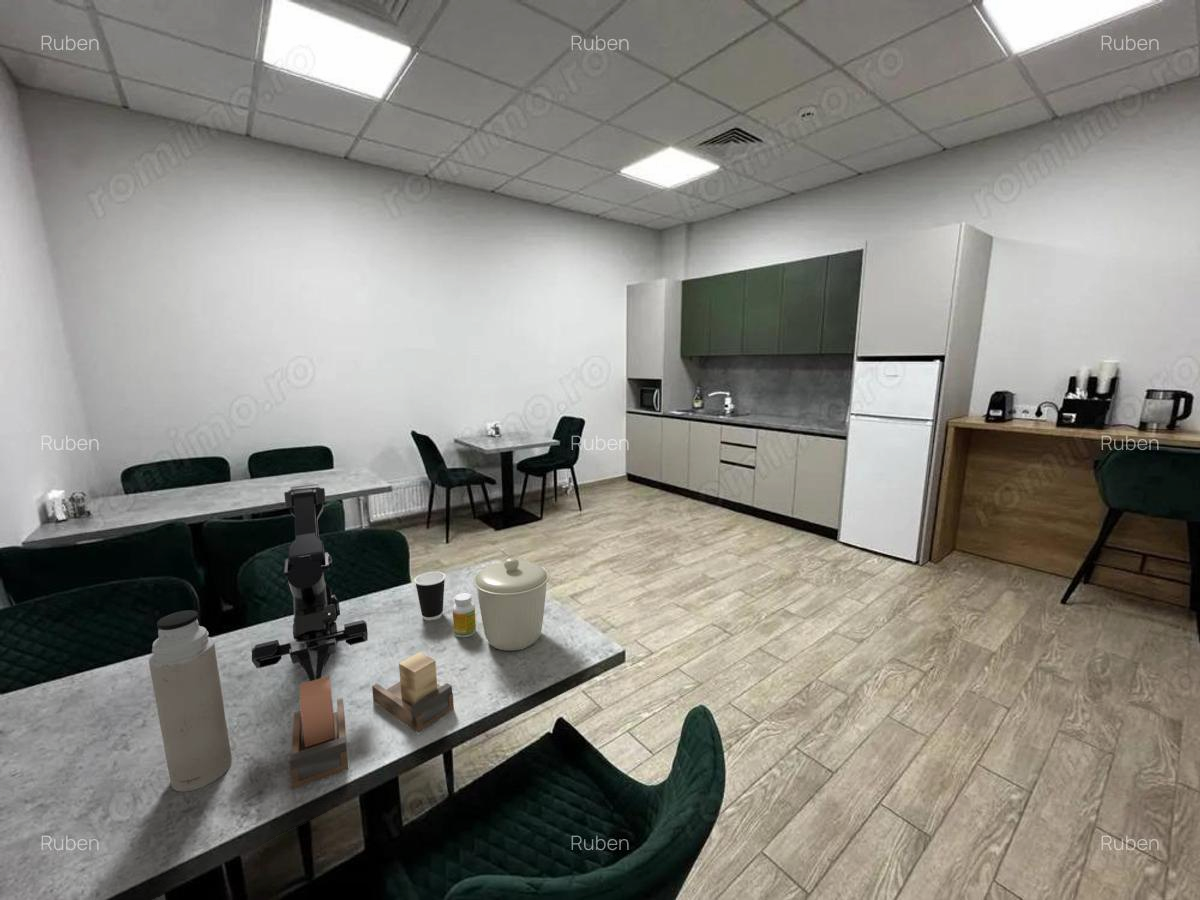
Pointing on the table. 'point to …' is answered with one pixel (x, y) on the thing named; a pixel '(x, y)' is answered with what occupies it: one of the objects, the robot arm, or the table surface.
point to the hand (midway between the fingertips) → (316, 689)
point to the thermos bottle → (189, 702)
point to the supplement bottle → (464, 616)
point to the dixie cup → (431, 594)
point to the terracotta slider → (317, 711)
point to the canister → (512, 602)
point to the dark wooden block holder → (318, 752)
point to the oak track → (415, 705)
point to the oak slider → (417, 677)
